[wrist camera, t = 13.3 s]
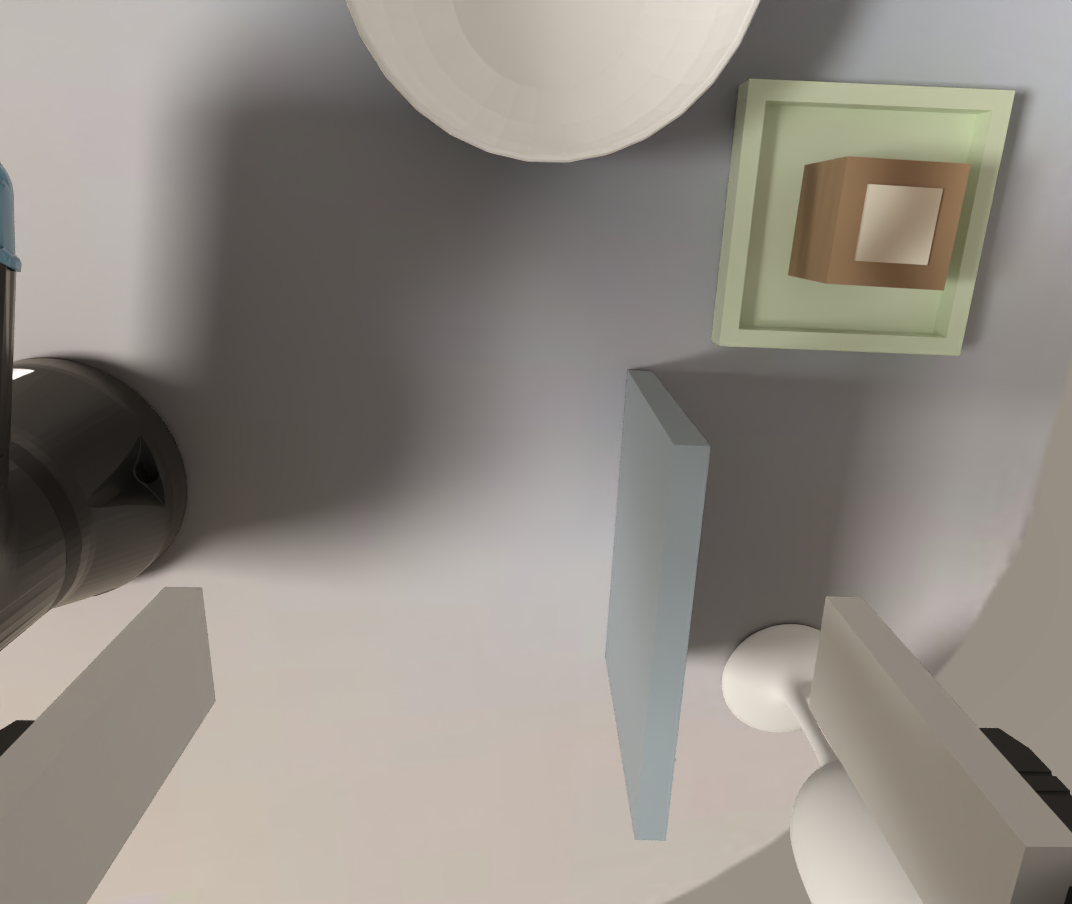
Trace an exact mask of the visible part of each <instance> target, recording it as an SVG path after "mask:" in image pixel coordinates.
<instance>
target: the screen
mask: <svg viewBox="0 0 1072 904" xmlns="http://www.w3.org/2000/svg"><path fill="white" fill-rule="evenodd" d="M710 449H711V446H710V445H709V444H708V442H707V441H706V440H705V438H704V437H703V436H702V435H701V433H700V432H699V431H698V429H697V428H696V427H695V425H694V424H693V423H692V422H691V420H690V419H689V418H688V416H687V415H686V414H685V413H684V411H683V410H682V409H681V407H680V406H679V405H678V404H677V402H676V401H675V400H674V398H673V397H672V396H671V395H670V393H669V392H668V391H667V389H666V388H665V387H664V386H663V384H662V383H661V382H660V380H659V379H658V378H657V377H656V375H655V374H654V373H653V371H643V370H627V383H626V396H625V409H624V421H623V434H622V447H621V460H620V473H619V486H618V499H617V512H616V524H615V537H614V550H613V563H612V576H611V589H610V602H609V615H608V627H607V640H606V653H605V658H606V664H607V670H608V677H609V683H610V689H611V695H612V701H613V708H614V714H615V720H616V726H617V732H618V739H619V745H620V751H621V757H622V763H623V770H624V776H625V782H626V788H627V794H628V801H629V807H630V813H631V819H632V825H633V832H634V838H635V840H659V841H666V833H667V825H668V816H669V807H670V798H671V790H672V781H673V772H674V763H675V755H676V746H677V737H678V728H679V720H680V711H681V702H682V693H683V685H684V676H685V667H686V659H687V650H688V641H689V632H690V624H691V615H692V606H693V597H694V589H695V580H696V571H697V562H698V554H699V545H700V536H701V527H702V519H703V510H704V501H705V492H706V484H707V475H708V466H709V457H710Z"/></svg>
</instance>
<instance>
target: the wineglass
mask: <svg viewBox="0 0 1072 904" xmlns="http://www.w3.org/2000/svg"><path fill="white" fill-rule="evenodd" d="M819 637H820V630H818V629H815V628H812V627H809V626H805V625H799V624H782V625H776V626H772V627H768V628H765V629H763V630H760V631H758V632H756V633H754V634H753V635H751V636H749V637H748V638H747V639H745V640H744V641H743V642H742V643H741V644H740V645H739V646H738V647H737V648H736V649H735V650H734V651H733V653H732V654H731V656H730V657H729V659H728V661H727V663H726V665H725V668H724V671H723V676H722V691H723V696H724V699H725V701H726V704H727V705H728V707H729V709H730V710H731V711H732V713H733V714H734V715H735V716H736V717H737V718H738V719H739V720H741V721H742V722H743V723H745V724H747V725H749V726H751V727H753V728H755V729H758V730H762V731H767V732H776V733H782V732H792V731H796V730H800V729H803V731H804V732H805V734H806V736H807V738H808V740H809V741H810V743H811V745H812V747H813V749H814V752H815V754H816V756H817V758H818V761H819V763H820V766H821V767H820V768H819V769H818V770H816V771H815V772H814V773H813V774H812V775H811V776H810V777H809V778H808V779H807V780H806V782H805V783H804V784H803V786H802V787H801V789H800V791H799V793H798V795H797V797H796V799H795V802H794V805H793V809H792V813H791V822H790V834H791V843H792V848H793V853H794V857H795V860H796V864H797V867H798V869H799V873H800V876H801V878H802V881H803V883H804V886H805V889H806V891H807V893H808V896H809V898H810V900H811V902H812V904H923V902H922V901H921V899H920V897H919V895H918V894H917V892H916V890H915V889H914V887H913V885H912V883H911V882H910V880H909V878H908V877H907V875H906V873H905V871H904V870H903V868H902V866H901V865H900V863H899V861H898V859H897V858H896V856H895V854H894V853H893V851H892V849H891V847H890V846H889V844H888V842H887V841H886V839H885V837H884V835H883V834H882V832H881V830H880V829H879V827H878V825H877V823H876V822H875V820H874V818H873V817H872V815H871V813H870V811H869V810H868V808H867V806H866V805H865V803H864V801H863V799H862V798H861V796H860V794H859V793H858V791H857V789H856V787H855V786H854V784H853V782H852V781H851V779H850V777H849V775H848V774H847V772H846V770H845V769H844V767H843V765H842V763H841V762H840V760H839V758H838V757H837V756H836V754H835V753H834V751H833V750H832V748H831V747H830V745H829V744H828V742H827V740H826V739H825V737H824V735H823V733H822V732H821V730H820V728H819V726H818V724H817V721H816V719H815V717H814V715H813V714H812V712H811V710H810V709H809V701H810V695H811V688H812V682H813V676H814V669H815V663H816V656H817V650H818V643H819Z"/></svg>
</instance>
